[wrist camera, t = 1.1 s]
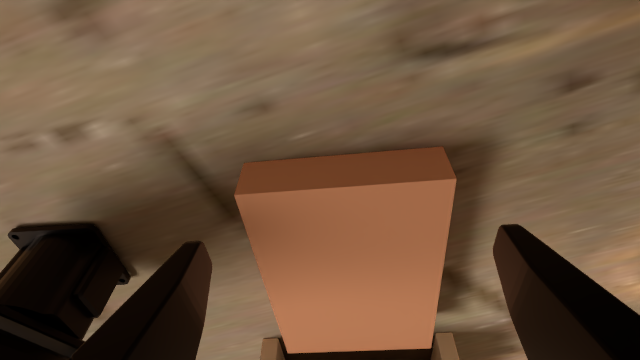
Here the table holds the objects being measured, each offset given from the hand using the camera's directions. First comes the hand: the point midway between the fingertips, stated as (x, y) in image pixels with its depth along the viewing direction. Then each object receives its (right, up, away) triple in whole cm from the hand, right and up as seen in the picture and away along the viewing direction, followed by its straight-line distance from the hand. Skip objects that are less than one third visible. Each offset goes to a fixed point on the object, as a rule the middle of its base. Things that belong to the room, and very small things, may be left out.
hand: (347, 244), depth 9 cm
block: (+2, -4, +19) cm, 19 cm away
